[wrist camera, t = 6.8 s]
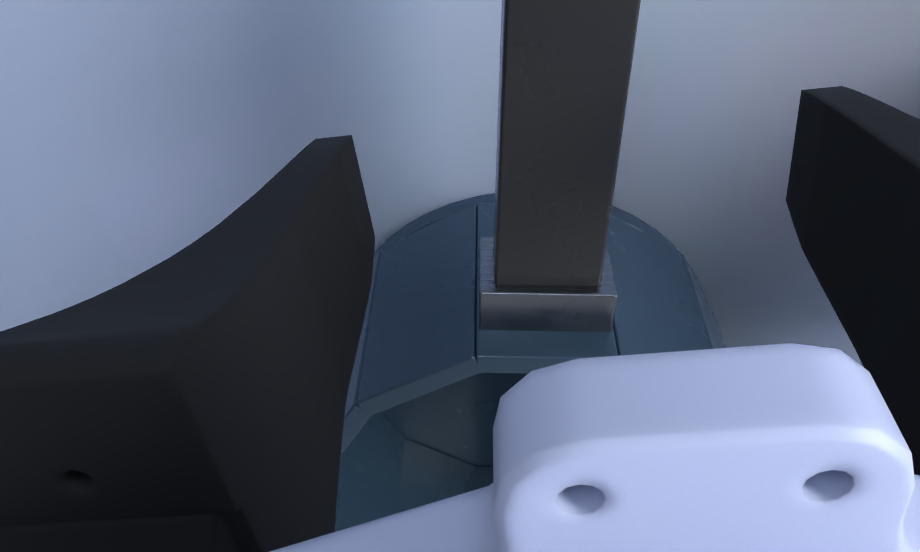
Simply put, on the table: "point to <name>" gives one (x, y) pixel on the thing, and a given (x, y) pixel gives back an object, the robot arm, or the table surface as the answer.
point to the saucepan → (513, 271)
